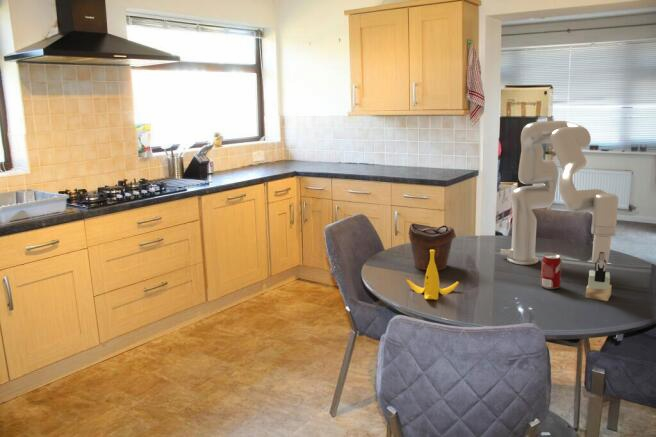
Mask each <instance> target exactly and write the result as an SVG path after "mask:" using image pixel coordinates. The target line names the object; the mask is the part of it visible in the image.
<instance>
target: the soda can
mask: <svg viewBox="0 0 656 437" xmlns="http://www.w3.org/2000/svg"><path fill="white" fill-rule="evenodd" d="M562 264H563V261H562V259H561V255H559V254H558V253H557V254H556V253H545V254H544V255H543V258H542V259H541V273H540V274H541V275H540V286H541V287H543V288H544V289H546V290H556V289H559V288H560V287H561V281H562V279H561V278H562V268H563V267H562Z"/></svg>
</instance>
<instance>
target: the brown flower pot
mask: <svg viewBox="0 0 656 437" xmlns="http://www.w3.org/2000/svg"><path fill="white" fill-rule="evenodd" d="M408 228H409V230H408V239H409V241H410V248H411V252H412V258H413V262H414V266H415V268H417V269H419V270H421V271H427V268H428V265H429V262H430V250H435V253H434V261H435V265H436V268H437V271H441V270H444V269H446V268H447V267H448V266H447V265H448V262H449V257H450V252H451V248H452V244H453V239H455V238H456V236H457V235H456V232H455V230H454V228H453V227H451V226H450V227H448V226H447V225H442V226H439V227H437V226H430V225H425V224H418V223H413V222H412V223H410V225H409V227H408Z"/></svg>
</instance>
